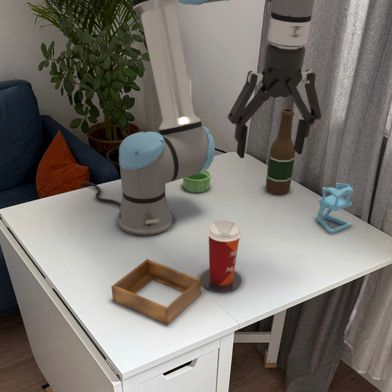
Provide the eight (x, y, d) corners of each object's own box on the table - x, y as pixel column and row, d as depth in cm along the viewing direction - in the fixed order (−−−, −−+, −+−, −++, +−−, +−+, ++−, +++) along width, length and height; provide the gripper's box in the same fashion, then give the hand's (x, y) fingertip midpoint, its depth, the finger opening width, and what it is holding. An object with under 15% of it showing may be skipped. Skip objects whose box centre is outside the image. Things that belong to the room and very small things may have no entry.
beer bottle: (272, 197, 157) (283, 116, 141) (260, 186, 163) (269, 107, 146) (294, 193, 160) (307, 112, 143) (281, 182, 165) (292, 104, 149)
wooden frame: (112, 300, 118) (111, 286, 115) (147, 272, 126) (146, 258, 124) (168, 324, 112) (168, 310, 109) (201, 293, 120) (201, 279, 118)
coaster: (192, 283, 123) (192, 282, 123) (213, 264, 130) (213, 263, 129) (228, 297, 120) (228, 296, 119) (248, 277, 126) (248, 275, 125)
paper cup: (237, 288, 121) (242, 236, 112) (205, 288, 121) (207, 236, 112) (236, 270, 127) (240, 219, 118) (205, 269, 127) (207, 218, 118)
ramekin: (204, 195, 157) (205, 182, 154) (177, 190, 159) (177, 177, 156) (214, 184, 163) (215, 170, 160) (188, 179, 166) (188, 165, 163)
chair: (329, 214, 150) (337, 175, 142) (350, 226, 145) (360, 186, 137) (310, 221, 147) (317, 181, 139) (330, 234, 142) (340, 193, 134)
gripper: (231, 50, 92) (220, 164, 107) (354, 48, 98) (327, 157, 113) (218, 39, 97) (210, 149, 112) (336, 38, 103) (313, 143, 118)
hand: (269, 153), depth 112 cm, fingers open, 13 cm apart
